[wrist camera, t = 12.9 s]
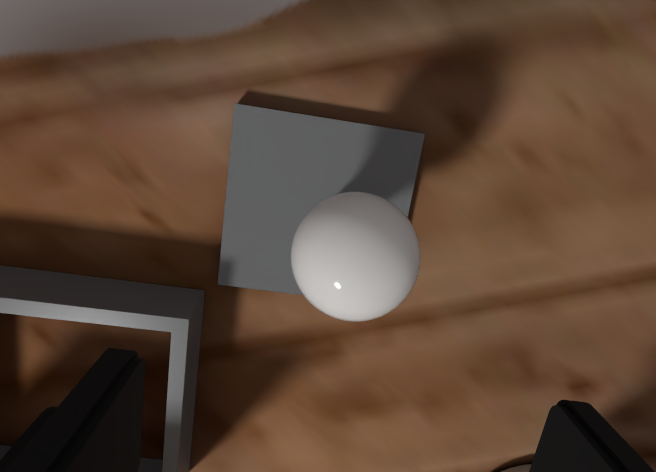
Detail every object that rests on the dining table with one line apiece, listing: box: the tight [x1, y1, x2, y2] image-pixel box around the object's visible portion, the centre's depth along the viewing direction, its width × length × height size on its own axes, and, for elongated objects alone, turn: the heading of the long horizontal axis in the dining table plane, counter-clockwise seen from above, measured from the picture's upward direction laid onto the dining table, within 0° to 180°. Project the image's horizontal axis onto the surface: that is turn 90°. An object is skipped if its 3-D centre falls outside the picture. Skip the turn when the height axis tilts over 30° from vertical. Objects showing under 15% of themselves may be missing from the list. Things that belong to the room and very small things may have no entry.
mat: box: [218, 104, 425, 295], centre depth 30 cm, size 12×12×1 cm
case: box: [0, 265, 205, 472], centre depth 26 cm, size 16×16×14 cm
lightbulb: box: [291, 192, 421, 322], centre depth 24 cm, size 6×6×11 cm
